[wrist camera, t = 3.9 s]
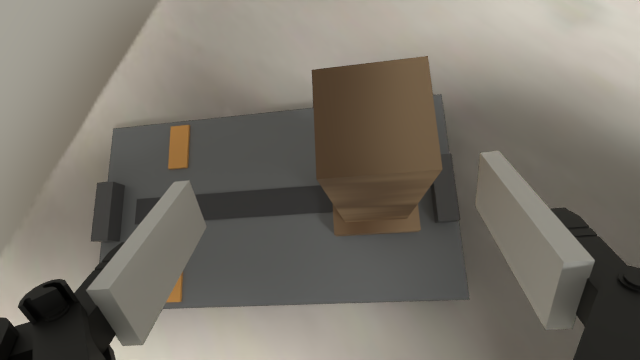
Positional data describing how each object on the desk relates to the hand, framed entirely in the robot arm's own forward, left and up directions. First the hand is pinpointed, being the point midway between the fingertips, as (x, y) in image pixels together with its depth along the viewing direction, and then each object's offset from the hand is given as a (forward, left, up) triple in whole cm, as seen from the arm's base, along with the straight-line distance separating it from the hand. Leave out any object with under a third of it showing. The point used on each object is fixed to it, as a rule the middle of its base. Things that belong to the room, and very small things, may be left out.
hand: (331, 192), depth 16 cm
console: (+5, -1, -9) cm, 10 cm away
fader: (-2, -1, -6) cm, 7 cm away
